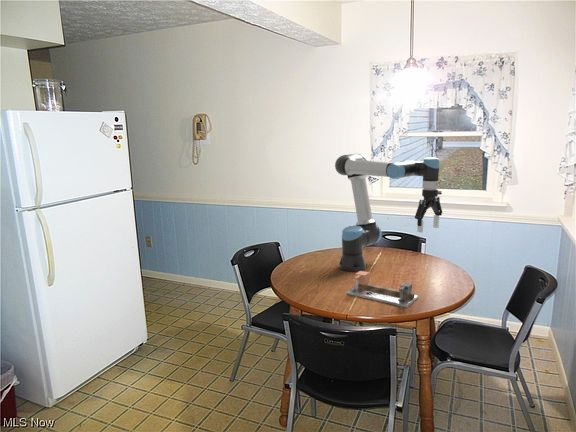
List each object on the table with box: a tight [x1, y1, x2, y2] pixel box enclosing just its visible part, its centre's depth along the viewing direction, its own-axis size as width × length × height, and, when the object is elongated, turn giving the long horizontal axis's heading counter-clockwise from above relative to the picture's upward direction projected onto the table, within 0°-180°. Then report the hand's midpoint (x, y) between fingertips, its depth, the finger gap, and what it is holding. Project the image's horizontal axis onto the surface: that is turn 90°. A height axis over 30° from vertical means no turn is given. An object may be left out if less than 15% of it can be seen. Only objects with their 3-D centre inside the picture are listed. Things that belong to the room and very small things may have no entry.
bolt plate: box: [346, 285, 419, 309], centre depth 202 cm, size 30×13×1 cm, turn 53°
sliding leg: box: [354, 270, 370, 290], centre depth 208 cm, size 5×9×7 cm, turn 143°
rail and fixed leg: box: [358, 281, 416, 301], centre depth 201 cm, size 29×9×6 cm, turn 53°
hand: (428, 229), depth 218 cm, fingers open, 13 cm apart
